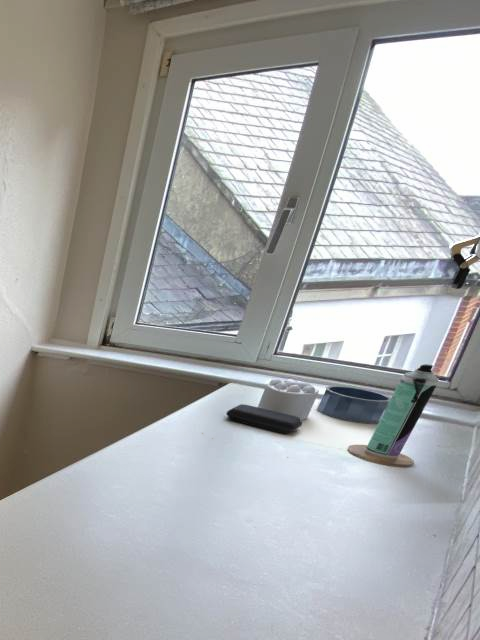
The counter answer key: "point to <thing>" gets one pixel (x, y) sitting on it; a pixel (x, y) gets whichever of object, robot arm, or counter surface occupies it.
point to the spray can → (402, 413)
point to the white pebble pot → (289, 397)
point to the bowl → (353, 404)
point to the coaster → (399, 462)
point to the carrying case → (264, 418)
